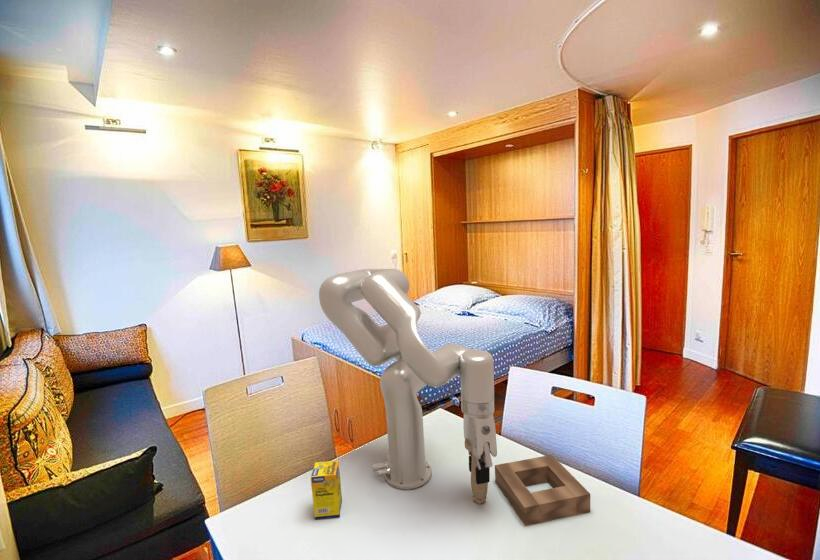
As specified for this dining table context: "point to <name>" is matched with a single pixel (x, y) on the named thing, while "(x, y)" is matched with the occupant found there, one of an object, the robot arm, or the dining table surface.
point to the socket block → (546, 503)
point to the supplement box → (326, 490)
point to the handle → (477, 489)
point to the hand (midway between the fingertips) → (479, 475)
